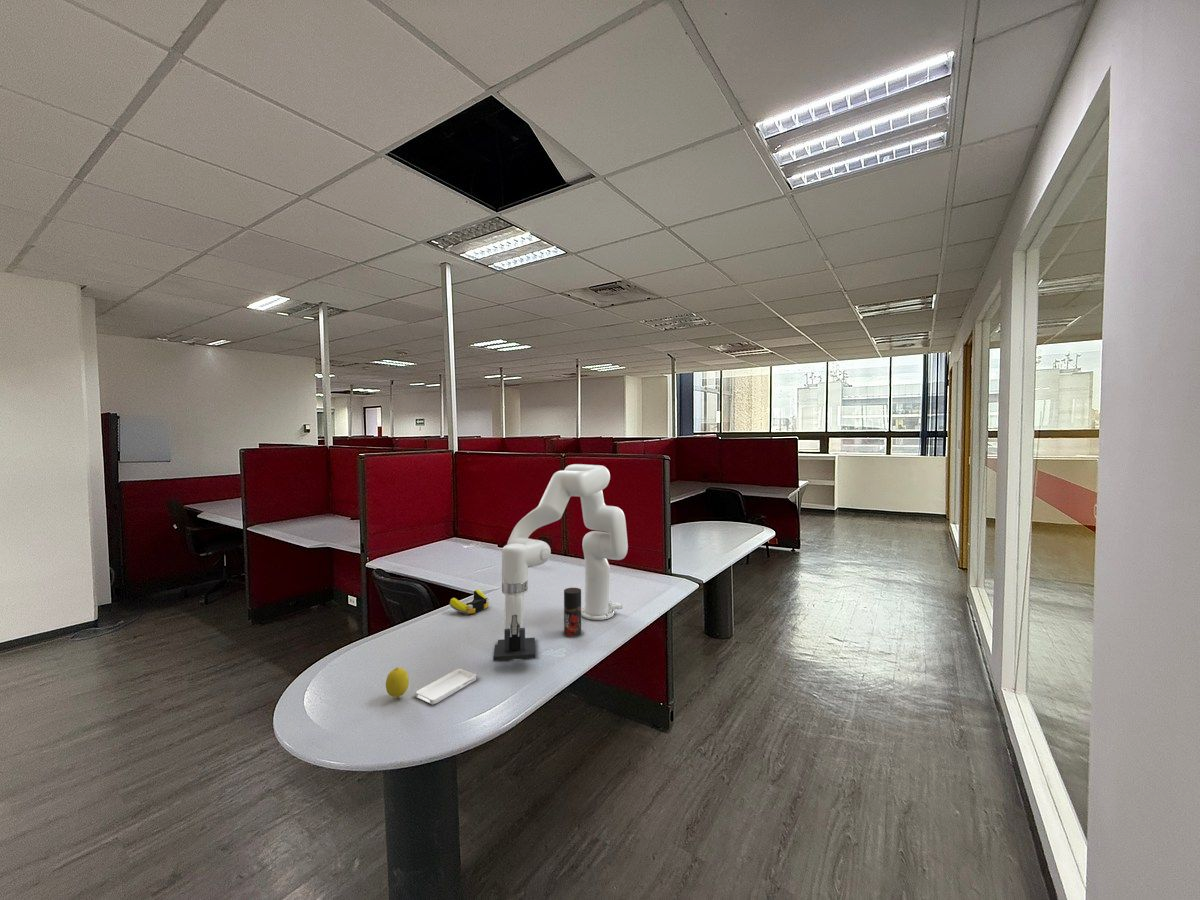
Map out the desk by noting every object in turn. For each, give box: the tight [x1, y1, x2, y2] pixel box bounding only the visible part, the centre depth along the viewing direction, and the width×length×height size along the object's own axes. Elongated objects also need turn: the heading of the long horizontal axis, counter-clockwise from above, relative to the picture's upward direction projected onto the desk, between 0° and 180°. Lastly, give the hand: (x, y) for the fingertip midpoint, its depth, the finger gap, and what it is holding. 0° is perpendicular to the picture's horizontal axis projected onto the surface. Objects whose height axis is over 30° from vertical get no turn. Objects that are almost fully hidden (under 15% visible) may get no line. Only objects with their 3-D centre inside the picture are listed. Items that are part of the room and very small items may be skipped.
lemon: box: [385, 666, 410, 699], centre depth 124 cm, size 6×6×8 cm
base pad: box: [496, 637, 536, 645], centre depth 152 cm, size 12×12×1 cm
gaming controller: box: [449, 589, 490, 616], centre depth 187 cm, size 15×6×10 cm
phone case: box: [415, 668, 477, 706], centre depth 129 cm, size 7×1×15 cm
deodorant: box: [563, 587, 582, 638], centre depth 164 cm, size 6×6×15 cm
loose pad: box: [492, 627, 536, 662], centre depth 143 cm, size 12×11×7 cm
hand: (514, 647), depth 142 cm, fingers closed on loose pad
